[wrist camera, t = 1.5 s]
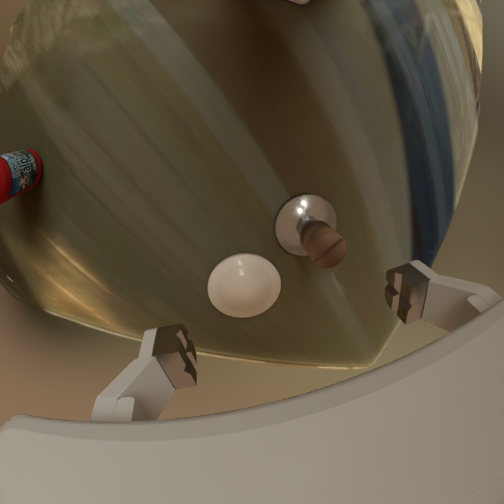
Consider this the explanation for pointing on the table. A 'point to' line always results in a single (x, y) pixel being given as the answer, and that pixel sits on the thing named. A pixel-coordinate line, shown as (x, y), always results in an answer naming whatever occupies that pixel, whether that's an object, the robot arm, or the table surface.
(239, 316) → the saucer
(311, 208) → the pedestal
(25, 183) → the beverage can
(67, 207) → the table surface
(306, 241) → the cap
